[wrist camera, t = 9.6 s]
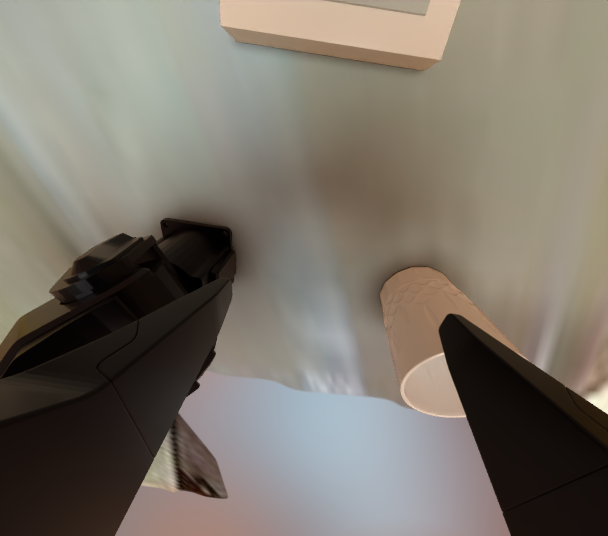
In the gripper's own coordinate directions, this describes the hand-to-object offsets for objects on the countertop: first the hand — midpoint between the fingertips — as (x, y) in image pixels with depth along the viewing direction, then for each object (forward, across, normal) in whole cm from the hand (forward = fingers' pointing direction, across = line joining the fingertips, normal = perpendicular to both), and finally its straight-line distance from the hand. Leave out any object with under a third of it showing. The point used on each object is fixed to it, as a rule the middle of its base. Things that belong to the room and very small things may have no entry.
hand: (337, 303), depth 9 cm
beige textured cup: (+12, -10, +7) cm, 17 cm away
